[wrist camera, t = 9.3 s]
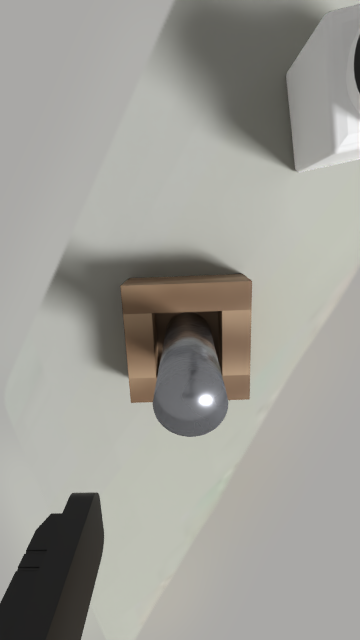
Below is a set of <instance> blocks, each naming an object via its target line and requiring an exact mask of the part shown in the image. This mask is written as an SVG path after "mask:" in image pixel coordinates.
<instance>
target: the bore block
mask: <svg viewBox="0 0 360 640" xmlns="http://www.w3.org/2000/svg"><path fill="white" fill-rule="evenodd" d="M120 287H121V298H122V309H123V320H124V331H125V342H126V353H127V364H128V375H129V386H130V396H131V403H136V402H153V398H154V392H155V387H156V381H157V376H158V371H159V365H160V360H161V354H162V349H163V344H164V338H165V333H166V328H167V325H168V323H169V322H170V320H171V319H172V318H173V317H175V316H176V315H178V314H180V313H184V312H193V313H197V314H199V315H201V316H202V317H203V318H204V319H205V320H206V321H207V322H208V324H209V327H210V330H211V334H212V338H213V342H214V346H215V350H216V354H217V358H218V362H219V366H220V370H221V374H222V377H223V381H224V385H225V389H226V393H227V397H228V400H243V399H249V396H250V349H251V301H252V281H251V280H250V279H249V278H247V277H246V276H245V275H243V274H228V275H202V276H175V277H149V278H129V279H128V280H127V281H125V282H124V283H123V284H122V285H121V286H120Z"/></svg>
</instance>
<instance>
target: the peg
mask: <svg viewBox="0 0 360 640" xmlns="http://www.w3.org/2000/svg"><path fill="white" fill-rule="evenodd" d="M153 409H154V413H155V415H156V417H157V419H158V421H159V422H160V423H161V424H162V425H163V426H164V427H165V428H166V429H167V430H169V431H171V432H172V433H175V434H177V435H181V436H187V437H193V436H200V435H204V434H206V433H208V432H210V431H212V430H214V429H215V428H216V427H217V426H218V425H219V424H220V423H221V422H222V421H223V419H224V417H225V415H226V413H227V409H228V397H227V393H226V389H225V385H224V381H223V377H222V374H221V370H220V366H219V362H218V358H217V354H216V350H215V346H214V342H213V338H212V334H211V330H210V327H209V324H208V322H207V321H206V320H205V319H204V318H203V317H202V316H201V315H199V314H197V313H193V312H184V313H180V314H178V315H176V316H175V317H173V318H172V319H171V320H170V322H169V323H168V325H167V328H166V333H165V338H164V344H163V349H162V354H161V360H160V365H159V371H158V376H157V381H156V387H155V392H154V398H153Z"/></svg>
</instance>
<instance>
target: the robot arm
mask: <svg viewBox="0 0 360 640" xmlns="http://www.w3.org/2000/svg"><path fill="white" fill-rule="evenodd" d="M103 544H104V529H103V521H102V513H101V505H100V497H99V494H98V493H72V494H71V495H70V497H69V499H68V502H67V504H66V506H65V509H64V511H63V513H62V514H50V516H49V517H48V518H47V519H46V520H45V521H44V522H43V523H42V525H40V526H39V528H38V529H37V530H36V531H35V533H34V536H33V538H32V539H31V542H30V544H29V546H28V548H27V550H26V554H24V556H23V558H22V560H21V562H20V564H19V566H18V570H17V571H16V572H15V574H14V576H13V578H12V580H11V583H10V584H9V587H8V589H7V591H6V593H5V595H4V597H3V599H2V601H1V603H0V640H81V636H82V633H83V629H84V624H85V621H86V617H87V612H88V609H89V605H90V601H91V597H92V593H93V589H94V585H95V581H96V577H97V573H98V569H99V565H100V561H101V557H102V552H103Z"/></svg>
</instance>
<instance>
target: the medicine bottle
mask: <svg viewBox="0 0 360 640" xmlns="http://www.w3.org/2000/svg"><path fill="white" fill-rule="evenodd" d="M286 80H287V90H288V100H289V110H290V120H291V131H292V141H293V151H294V161H295V169H296V171H297V172H304V171H309V170H313V169H318V168H322V167H327V166H331V165H336V164H340V163H345V162H350V161H354V160H359V159H360V4H357V5H353V6H349V7H346V8H342V9H338V10H334V11H330V12H328V13H326V14H325V15H324V16H323V18H322V19H321V21H320V23H319V24H318V26H317V27H316V29H315V30H314V32H313V33H312V35H311V36H310V38H309V39H308V41H307V43H306V44H305V46H304V47H303V49H302V50H301V52H300V53H299V55H298V56H297V58H296V59H295V61H294V63H293V64H292V66H291V67H290V69H289V70H288V72H287V74H286Z"/></svg>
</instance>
